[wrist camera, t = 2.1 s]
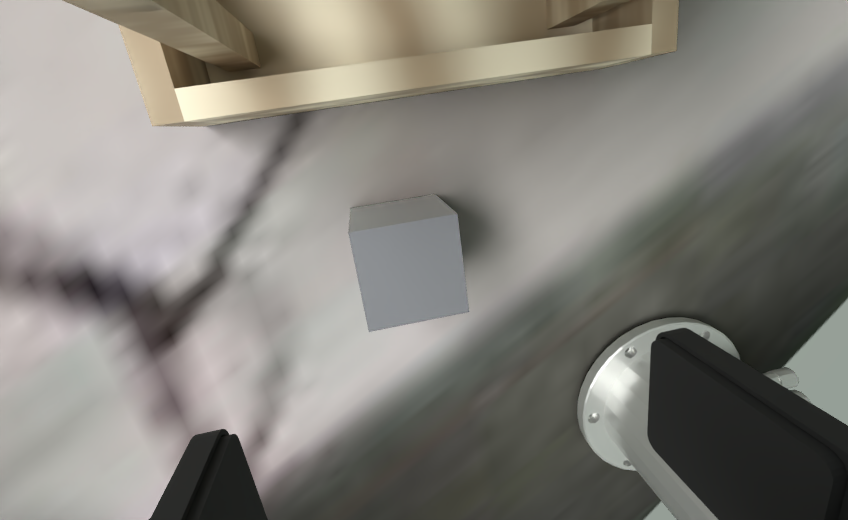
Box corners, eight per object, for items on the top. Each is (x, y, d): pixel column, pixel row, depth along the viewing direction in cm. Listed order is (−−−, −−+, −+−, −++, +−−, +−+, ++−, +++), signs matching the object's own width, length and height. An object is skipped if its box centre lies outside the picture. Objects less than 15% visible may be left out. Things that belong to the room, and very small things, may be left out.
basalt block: (434, 193, 25) (457, 213, 19) (445, 272, 26) (469, 311, 21) (350, 208, 24) (348, 232, 19) (366, 287, 26) (368, 331, 20)
